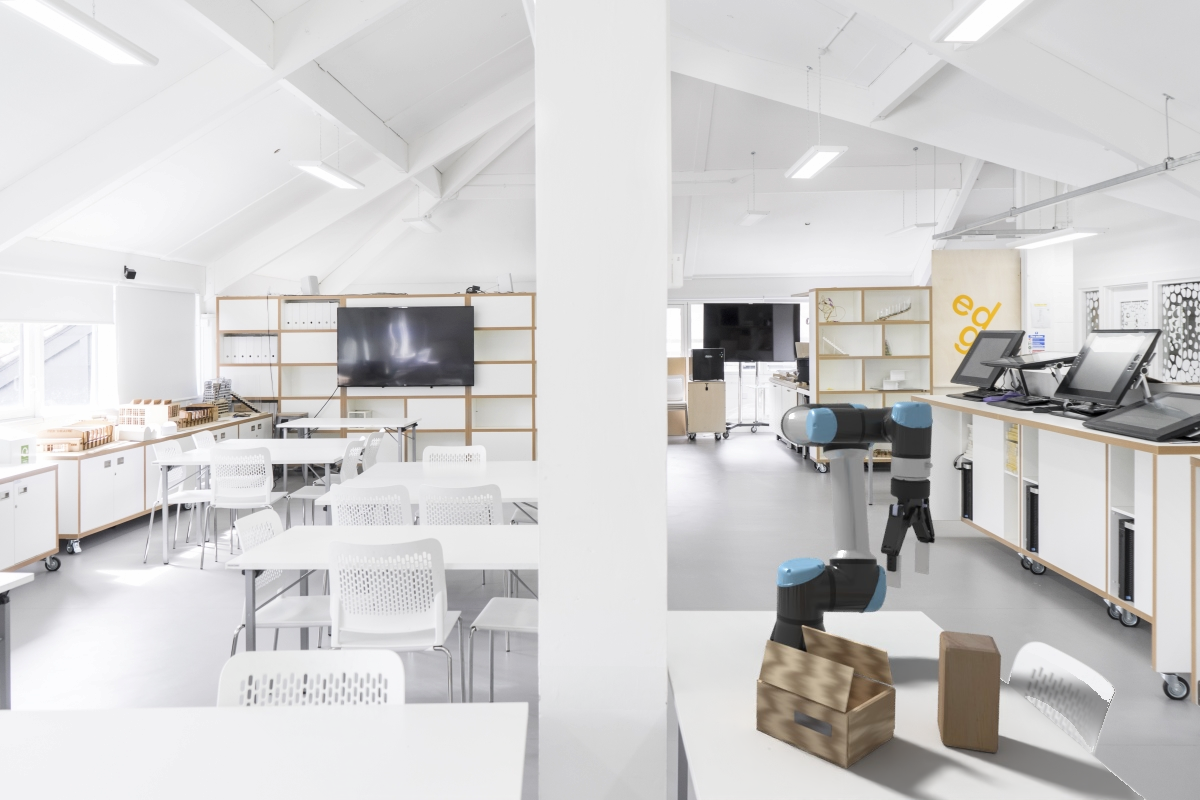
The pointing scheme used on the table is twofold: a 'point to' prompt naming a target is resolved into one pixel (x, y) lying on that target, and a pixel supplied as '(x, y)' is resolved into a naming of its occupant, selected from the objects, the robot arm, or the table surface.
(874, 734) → the carton
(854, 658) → the flap far
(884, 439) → the robot arm
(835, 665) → the flap near
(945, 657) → the wooden block
